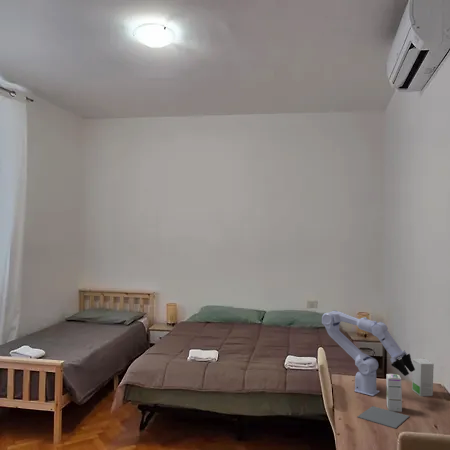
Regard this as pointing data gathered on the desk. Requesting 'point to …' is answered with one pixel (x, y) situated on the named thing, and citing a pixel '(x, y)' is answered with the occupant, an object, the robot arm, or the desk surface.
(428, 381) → the skincare box
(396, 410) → the syrup box
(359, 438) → the desk surface
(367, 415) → the mat
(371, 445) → the desk surface
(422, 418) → the desk surface
